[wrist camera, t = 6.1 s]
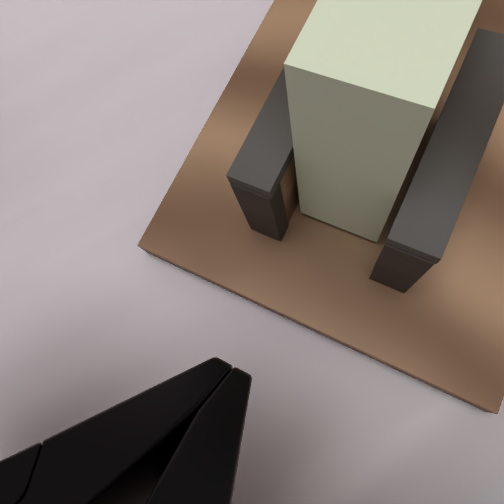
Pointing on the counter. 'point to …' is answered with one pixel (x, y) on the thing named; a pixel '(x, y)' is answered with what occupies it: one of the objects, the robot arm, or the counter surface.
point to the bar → (367, 100)
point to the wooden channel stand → (349, 244)
